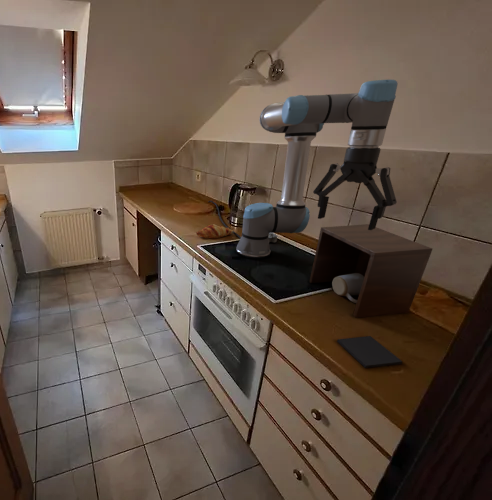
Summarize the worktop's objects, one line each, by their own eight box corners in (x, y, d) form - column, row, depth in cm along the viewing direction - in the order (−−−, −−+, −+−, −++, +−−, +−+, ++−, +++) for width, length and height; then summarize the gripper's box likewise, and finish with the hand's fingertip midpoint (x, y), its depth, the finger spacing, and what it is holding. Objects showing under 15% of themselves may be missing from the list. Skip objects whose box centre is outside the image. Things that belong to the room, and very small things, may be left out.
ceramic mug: (328, 289, 109) (333, 271, 106) (348, 287, 110) (353, 269, 107) (350, 306, 99) (356, 286, 96) (372, 303, 100) (379, 283, 97)
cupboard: (309, 281, 115) (320, 227, 106) (352, 278, 117) (367, 224, 108) (355, 317, 93) (375, 253, 85) (408, 312, 95) (432, 248, 86)
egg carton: (256, 236, 162) (256, 229, 160) (269, 235, 162) (270, 228, 160) (263, 243, 152) (264, 236, 150) (278, 242, 152) (279, 235, 151)
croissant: (229, 238, 170) (228, 224, 170) (238, 235, 160) (236, 221, 160) (194, 241, 166) (192, 227, 167) (200, 238, 156) (199, 223, 157)
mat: (336, 341, 84) (337, 339, 83) (369, 338, 85) (370, 335, 84) (365, 368, 75) (366, 365, 74) (401, 363, 75) (402, 361, 75)
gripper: (309, 145, 87) (296, 216, 95) (418, 150, 67) (390, 237, 76) (322, 144, 90) (309, 211, 99) (429, 147, 71) (402, 231, 80)
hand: (344, 223), depth 87 cm, fingers open, 13 cm apart
